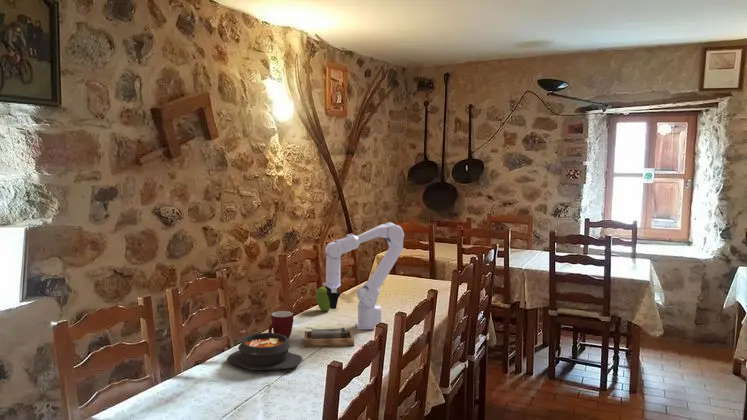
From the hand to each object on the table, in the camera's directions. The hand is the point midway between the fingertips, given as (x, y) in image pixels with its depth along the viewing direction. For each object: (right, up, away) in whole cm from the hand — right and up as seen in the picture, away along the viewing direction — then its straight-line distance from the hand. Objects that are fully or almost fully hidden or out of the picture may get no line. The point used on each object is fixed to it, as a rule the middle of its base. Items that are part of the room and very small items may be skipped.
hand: (332, 306), depth 214 cm
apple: (-5, -7, +25) cm, 27 cm away
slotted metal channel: (0, -10, -14) cm, 18 cm away
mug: (-18, -11, -14) cm, 26 cm away
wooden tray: (0, -11, -14) cm, 18 cm away
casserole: (-20, -13, -37) cm, 44 cm away
